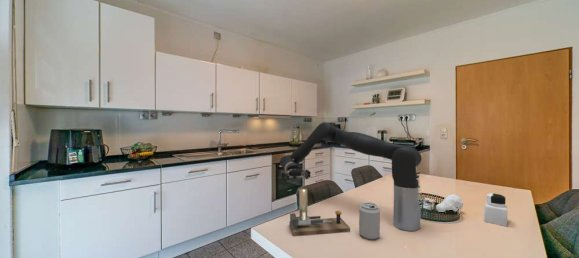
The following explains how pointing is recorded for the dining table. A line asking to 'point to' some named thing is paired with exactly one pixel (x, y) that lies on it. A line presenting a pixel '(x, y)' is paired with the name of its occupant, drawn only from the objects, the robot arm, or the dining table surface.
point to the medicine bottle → (495, 209)
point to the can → (369, 220)
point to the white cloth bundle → (450, 203)
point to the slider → (305, 210)
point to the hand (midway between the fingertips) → (298, 177)
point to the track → (319, 226)
